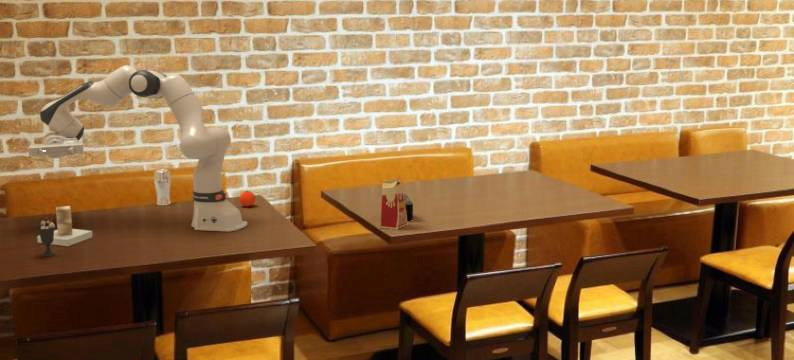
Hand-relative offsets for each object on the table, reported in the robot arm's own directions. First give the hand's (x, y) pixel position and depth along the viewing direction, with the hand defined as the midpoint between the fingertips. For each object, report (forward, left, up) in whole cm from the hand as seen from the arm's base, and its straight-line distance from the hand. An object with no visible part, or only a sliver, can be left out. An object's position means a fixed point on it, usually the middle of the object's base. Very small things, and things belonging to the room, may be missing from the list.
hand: (57, 152), depth 365 cm
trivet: (-8, +8, -32) cm, 34 cm away
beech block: (-8, +8, -29) cm, 32 cm away
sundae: (-16, +26, -32) cm, 45 cm away
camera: (-115, -72, -32) cm, 139 cm away
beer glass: (-6, -57, -32) cm, 65 cm away
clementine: (-43, -66, -32) cm, 85 cm away
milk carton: (-116, -57, -32) cm, 133 cm away
